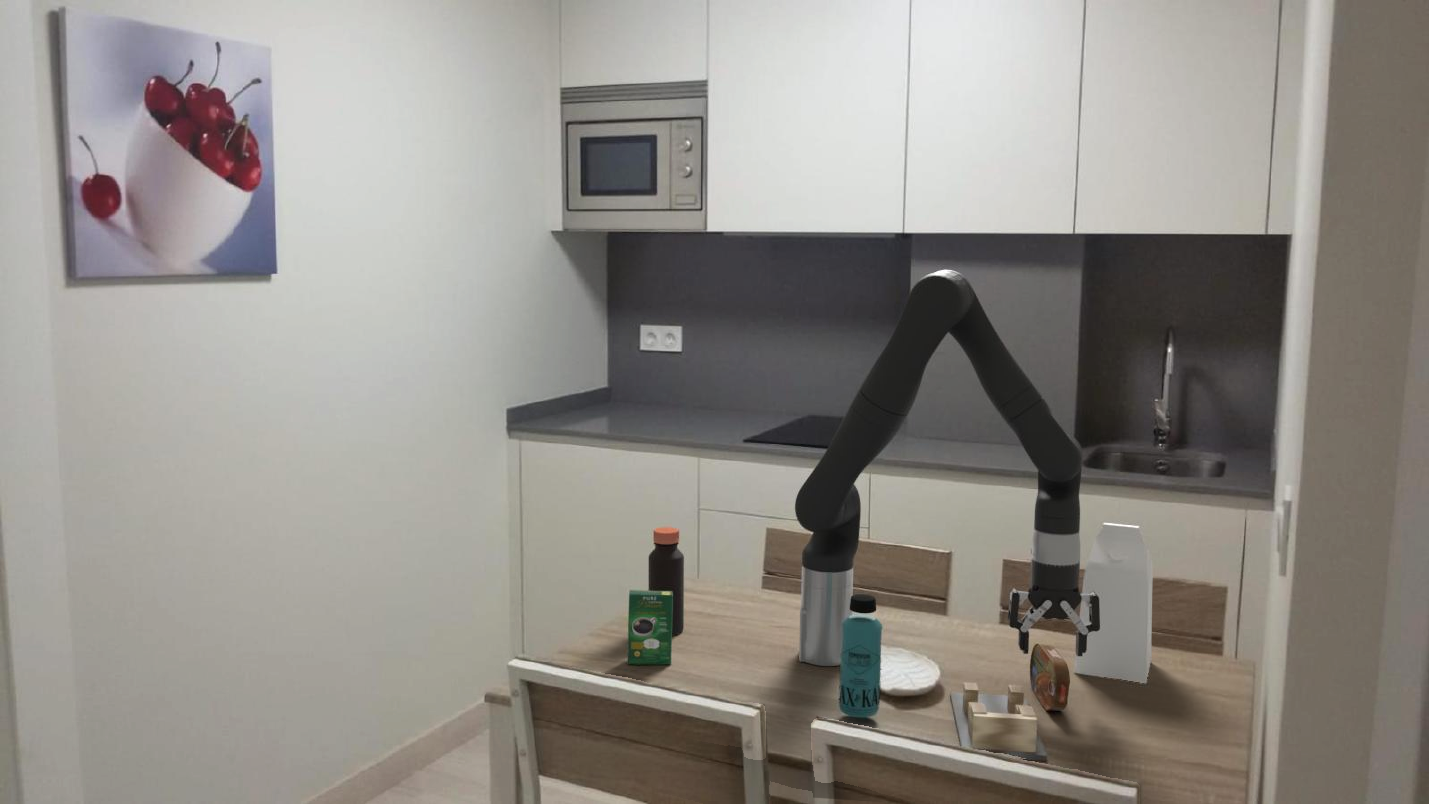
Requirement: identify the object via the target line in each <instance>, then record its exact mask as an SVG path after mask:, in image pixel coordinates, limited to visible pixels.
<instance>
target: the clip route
mask: <svg viewBox="0 0 1429 804" xmlns="http://www.w3.org/2000/svg"><path fill="white" fill-rule="evenodd" d="M962 689H963V690H962V692H951V691H950V692H949V698H950V702H951V707H952V708H951V709H952V711H953V716H954V717H953V718H954V721H955V726H956V731H957V736H958V740H960V741H959V745H961V746H964V747H969V748H973V749H978V750H986V751H989V752H993V753H1004V754H1009V755H1012V756H1018V757H1021V758H1026V759H1028V760H1027V761H1041V762H1044V761H1045V762H1047V761H1048V755H1047V752H1046V749H1045V746H1044V743H1043V741H1042V740H1041V736H1040V734H1039V731H1038V728H1037V727H1038V717H1037V716H1036V713H1035V710H1034V709H1033V706H1030V705H1029V704H1028V702H1027V700H1026V697H1025V691H1024V689H1023V686H1022V685H1020V684H1019V685H1018V684H1008V685H1007V695H1004V694H988V693H985V694H984V693H979V687H978V684H977V682H966V681H965V682H964V681H963V687H962ZM961 746H960V747H961Z"/></svg>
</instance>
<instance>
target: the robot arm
mask: <svg viewBox="0 0 1429 804" xmlns="http://www.w3.org/2000/svg"><path fill="white" fill-rule="evenodd" d="M948 334H950V335H951V337H953V339H954V340H955V341H956V343H958V345H959V346H960V348H961V349H962V350H963V352H964V353H965V354H966V356H967V358H968V360H969V361H970V363H971V366H972V367H973V370H974V372H975V374H976V376H977V378H978V380H979V383H980V385H981V387H982V389H983V391H984V392H985V394H986V396H987V397H988V399H989V401H990V402H991V404H992V405H993V406H994V409H996V411H997V412H998V414H999V415H1000V416H1001V418H1002V419H1003V420H1004V422H1005V423H1006V424H1007V426H1008V427H1009V428H1010V429H1011V430H1012V432H1014V435H1016V437H1017V439H1018V440H1019V443H1020V444H1021V445H1022V448H1023V449H1024V450H1025V452H1026V454H1027V456H1028V458H1029V460H1030V461H1031V462H1032V464H1033V465H1034V466H1035V468H1036V469H1037V494H1036V499H1035V504H1034V505H1035V506H1034V524H1033V534H1032V535H1033V536H1032V541H1031V549H1030V554H1031V562H1030V563H1031V565H1030V587H1029V589H1028V591H1023V590H1018V589H1016V588H1011V589H1010V593H1009V602H1008V610H1007V611H1008V612H1007V622H1008V625H1009V627H1010V628H1012V629H1017V630H1018V639H1017V640H1018V641H1017V642H1018V647H1019V649H1020V651H1022V653H1023V655H1024V654H1025V655H1029V648H1030V647H1029V646H1030V644H1029V642H1030V632H1029V631H1030V630H1029V629H1031V628H1032V626H1033V625H1035V624H1036V623H1037V622H1038V621H1039V620H1040V619H1041V618H1042V619H1044V620H1052V619H1056V620H1061V621H1062V620H1063V621H1064V620H1065V619H1067V618H1069V619H1070V621H1072V623H1073V624H1074V626H1075V627H1076V628H1077V630H1075V654H1077V656H1082V653H1085V652H1086V650H1087V635H1088V633H1090V632H1092V631H1099V630H1100V608H1099V597H1098V595H1097V594H1096V593H1095V592H1093V591H1091V592H1090V593H1088V594H1082V593H1080V567H1081V565H1080V564H1081V537H1080V529H1081V525H1080V524H1081V523H1080V522H1081V504H1080V489H1081V481H1082V480H1081V478H1082V467H1083V457H1084V456H1083V449H1082V446H1081V444H1080V442H1079V441H1078V440H1077V439H1076V438H1075V437H1074V436H1072V435H1070V434H1069V433H1066V431H1065V430H1064V429H1063V427H1062V426H1061V425H1060V424H1059V422H1058V421H1057V420H1056V418H1055V417H1054V416H1053V414H1052V411H1051V410H1052V409H1051V408H1050V407H1049V404H1048V403H1047V401H1046V399H1045V398H1044V397H1043V395H1042V394H1041V393H1040V391H1039V390H1038V388H1036V386H1035V385H1034V384H1033V382H1032V381H1031V379H1030V378H1029V377H1028V375H1027V374H1026V372H1024V370H1023V369H1022V367H1021V366H1020V364H1019V363H1018V362H1017V360H1016V359H1015V358H1014V357H1013V355H1012V354H1011V352H1010V351H1009V349H1008V348H1007V346H1006V345H1005V343H1004V342H1003V341H1002V339H1001V337H1000V335H998V333H997V330H996V329H995V328H994V325H993V324H992V322H991V321H990V319H989V317H988V316H987V313H986V311H985V310H984V308H983V306H982V304H981V301H980V300H979V297H978V296H977V294H976V292H975V290H974V289H973V286H972V285H971V283H970V281H969V280H968V278H967V277H966V276H965V275H963V274H962V273H961V272H958V271H955V270H952V269H940V270H937V271H935V272H932V273H929V274H927V275H924V276H922V278H920V279H918V281H917V282H916V283H914V285H913V287H912V288H911V289H910V292H909V294H908V297H907V299H906V302H905V304H904V307H903V309H902V312H901V313H900V316H899V319H898V321H897V323H896V325H895V328H894V330H893V333H892V334H891V336H890V339H889V340H888V342H887V344H886V345H885V347H884V348H883V350H881V353H880V355H879V356H878V357H877V359H876V360H875V362H874V364H873V366H872V367H871V368H870V370H869V372H868V373H867V375H866V377H865V378H864V380H863V382H862V383H861V385H860V387H859V389H858V391H857V393H856V394H855V396H854V398H853V400H852V401H851V403H850V405H849V407H848V410H847V411H846V413H845V416H844V417H843V419H842V421H841V423H840V424H839V426H838V428H837V430H836V432H835V434H834V435H833V437H832V439H831V441H830V443H829V445H828V447H827V449H826V451H825V452H824V453H823V455H822V458H821V459H820V460H819V461H818V463H817V464H816V466H815V468H814V469H813V470H812V472H811V473H810V474H809V476H808V477H807V479H806V480H805V481H804V482H803V484H802V486H800V489H799V491H798V493H797V494H796V498H795V502H794V513H795V517H796V518H797V519H796V520H797V521H798V523H799V524H800V526H801V527H802V528H803V529H804V530H806V531H808V532H811V533H812V535H811V537H810V539H809V541H808V543H807V544H806V545H805V546H804V548H803V549H802V555H801V588H800V589H801V591H800V594H801V595H800V596H801V597H800V611H799V613H800V614H799V650H798V651H799V652H798V653H799V658H798V659H799V660H798V661H799V662H802V663H807V664H811V665H813V666H814V665H815V666H821V667H835V666H837V667H838V666H841V658H840V657H841V656H840V655H841V650H842V622H843V621H844V620H845V619H846V618H847V617H849V616H850V615H852V614H853V611H851V610H850V601H851V596H853V595H854V594H853V592H854V591H853V588H854V587H853V585H854V581H853V580H854V561H855V556H856V554H857V551H858V548H859V541H860V530H861V529H860V527H861V516H862V515H861V514H862V513H861V511H862V508H861V507H862V505H861V497H860V493H859V489H858V488H857V486H856V485H855V483H856V481H857V479H858V478H859V477H860V475H861V473H862V472H864V470H865V469H866V468H867V467H868V465H870V464H871V462H873V461H874V460H875V458H877V457H878V456H879V455H880V453H882V451H883V450H884V449H886V447H887V446H888V445H889V443H890V442H892V441H893V439H894V437H895V436H896V434H898V432H899V430H900V428H901V427H902V426H903V423H904V422H905V420H906V419H907V417H908V415H909V414H910V411H911V409H912V408H913V405H914V403H915V401H916V399H917V396H918V394H919V390H920V387H921V383H922V380H923V376H924V373H925V370H926V368H927V365H928V363H929V361H930V359H932V356H933V355H934V353H935V352H936V350H937V349H938V347H939V345H940V344H941V343H942V341H943V340H944V338H945V337H946V335H948ZM1025 600H1028V601H1029V603H1030V605H1031V606H1030V608H1029V609H1028V610H1027V611H1026V613H1025V615H1024V616H1023V617H1022V618H1021V619H1018V617H1019V610H1020V609H1019V608H1020V606H1021V605H1023V603H1024V601H1025ZM1081 601H1084V602H1085V605H1086V606H1087V607H1089V622H1086V623H1083V621H1082V620H1081V619H1080V615H1078V614H1077V612H1076V611H1075V610H1076V609H1077V607H1078V606H1079V605H1081Z"/></svg>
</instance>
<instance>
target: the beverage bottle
mask: <svg viewBox="0 0 1429 804" xmlns="http://www.w3.org/2000/svg"><path fill="white" fill-rule="evenodd" d="M850 610H851V611H852V615H850V616H849V617H847V618H846V619H845V620H844V621H843V622H842V650H841V655H840V656H841V657H840V658H841V665H840V666H839V673H838V674H839V681H838V682H839V684H838V686H839V687H838V690H839V696H838V702H837V703H838V706H839V711H841V712H842V713H843V714H844V715H847V716H849V717H853V718H869V717H873V716H876V715H877V714H878V711H879V709H880V704H881V689H882V687H881V686H882V683H881V680H882V673H881V671H882V666H881V663H882V662H883V659H882V635H883V634H882V633H883V632H882V630H883V624H882V623H881V621H880V620H878V618H876V617H875V616H874V615H872V613H875V612H877V599H876V597H875V596H873V595H871V594H867V593H857V594H853V596H851V601H850Z"/></svg>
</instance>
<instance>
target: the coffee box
mask: <svg viewBox="0 0 1429 804" xmlns="http://www.w3.org/2000/svg"><path fill="white" fill-rule="evenodd" d="M628 593H629V594H628V621H627V665H637V666H640V665H658V666H663V665H670V666H671V665H672V644H673V643H672V642H673V640H672V639H673V638H672V637H673V636H672V618H673V592H672V591H649V590H643V589H642V590H641V589H640V590H639V589H638V590H636V589H635V590H634V589H630V590H629V592H628Z"/></svg>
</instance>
